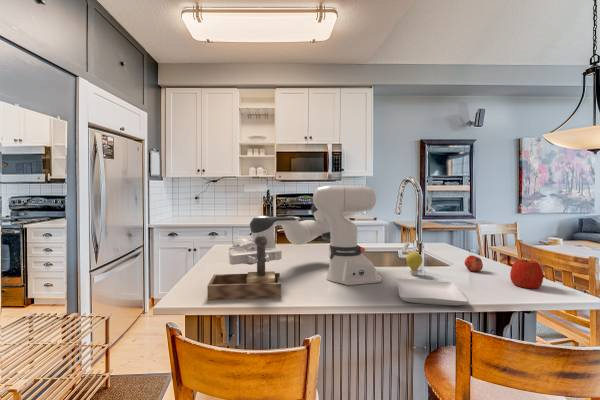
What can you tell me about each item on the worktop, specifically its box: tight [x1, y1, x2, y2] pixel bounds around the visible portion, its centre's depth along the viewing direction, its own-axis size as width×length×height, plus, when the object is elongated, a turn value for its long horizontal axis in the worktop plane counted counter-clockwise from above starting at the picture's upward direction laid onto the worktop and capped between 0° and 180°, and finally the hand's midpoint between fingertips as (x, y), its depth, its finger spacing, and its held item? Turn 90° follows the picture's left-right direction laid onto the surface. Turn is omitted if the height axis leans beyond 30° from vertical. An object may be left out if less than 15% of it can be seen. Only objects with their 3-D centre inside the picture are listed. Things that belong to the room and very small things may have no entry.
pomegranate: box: [463, 254, 484, 272], centre depth 152 cm, size 7×7×10 cm
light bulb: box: [405, 251, 423, 276], centre depth 145 cm, size 7×7×10 cm
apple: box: [509, 258, 544, 290], centre depth 130 cm, size 11×11×11 cm
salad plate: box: [395, 277, 469, 307], centre depth 118 cm, size 21×21×3 cm
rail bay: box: [206, 272, 282, 301], centre depth 122 cm, size 25×14×5 cm, turn 96°
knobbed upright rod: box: [247, 235, 276, 284], centre depth 122 cm, size 10×9×20 cm
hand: (261, 260), depth 121 cm, fingers closed on knobbed upright rod, 3 cm apart
